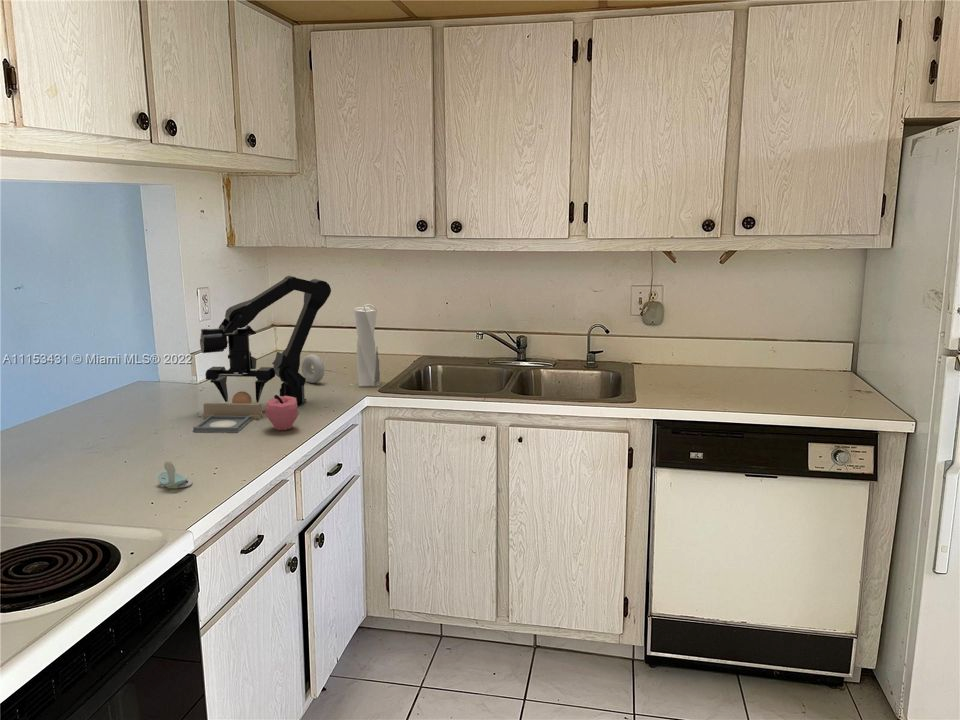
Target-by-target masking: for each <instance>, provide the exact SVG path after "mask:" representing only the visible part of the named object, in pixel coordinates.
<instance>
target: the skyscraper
mask: <svg viewBox="0 0 960 720" xmlns="http://www.w3.org/2000/svg"><path fill="white" fill-rule="evenodd" d="M370 307H373V309H371V308H370ZM353 313H354V322H355V329H356V334H357V339H356V341H357V342H356V367H357V380H358V382H357V383H358V388H380V387H381V375H380V374H381V373H380V358H379V351H378V346H376V341H375V336H374V335H375V329H376V328H375V327H376V321H377V308H376V307H375V305H373V304H371V303H365V304H364V305H363V306H358V307H355V308H354V309H353Z"/></svg>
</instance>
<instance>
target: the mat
mask: <svg viewBox="0 0 960 720" xmlns="http://www.w3.org/2000/svg"><path fill="white" fill-rule="evenodd" d="M252 420H253V419H252V418H251V416H208V418H206V419H204V420H202V421H201V422H199V423H198V424H197V425H195V426H193V429H192V433H213V432H223V433H224V432H225V434H226V433H227V434H231V433H232V434H234V433H235V434H238V433H239V432H240V431H242V429H244V428H245V427H246V426H247V425H248V424H249V423H250V422H251V421H252ZM245 425H246V426H245ZM244 426H245V427H244ZM243 427H244V428H243Z"/></svg>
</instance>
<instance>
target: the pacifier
mask: <svg viewBox="0 0 960 720" xmlns="http://www.w3.org/2000/svg"><path fill="white" fill-rule="evenodd" d="M163 466H164V467H163V468H164V470H165V471H163V472H161V473H159V474H158V476H157V480H158V483H159V484H160V485H164V486H165V487H166V488H168V489H171V488H176V489H179V488H187V487H190V486H192V484H193V480H192V479H190V478H188V477H185V476H183V475H181V474H179V473H176V468H175V465H174V463H173V462H172V460H170V459H169V458H168V459H166V460H165V461H164V463H163ZM185 482H186V483H185ZM187 482H188V483H187ZM178 487H179V488H178Z"/></svg>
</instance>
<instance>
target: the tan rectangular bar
mask: <svg viewBox="0 0 960 720" xmlns="http://www.w3.org/2000/svg"><path fill="white" fill-rule="evenodd" d="M263 415H264V414H263V411H262V403H251V404H243V403H232V402H231V403H230V402H204V403H203V415H202V419H203V418H205V419H206V418H208V416H251V418H252V420H261V419H262V418H263ZM260 418H261V419H260ZM205 419H204V420H205Z"/></svg>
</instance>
